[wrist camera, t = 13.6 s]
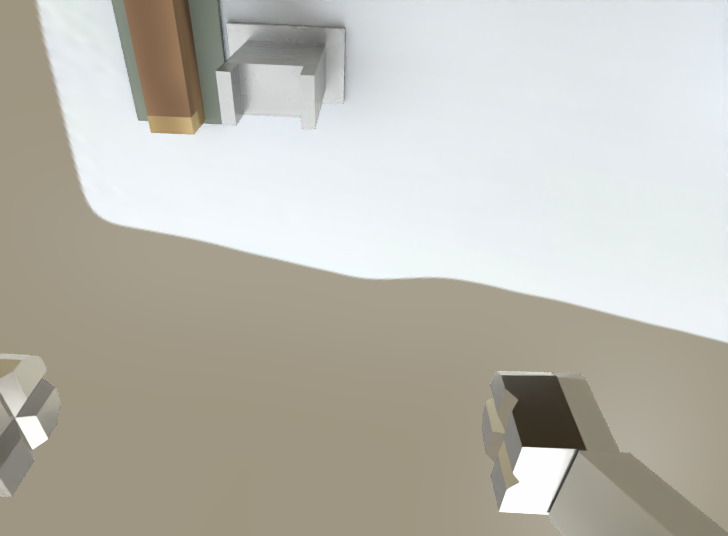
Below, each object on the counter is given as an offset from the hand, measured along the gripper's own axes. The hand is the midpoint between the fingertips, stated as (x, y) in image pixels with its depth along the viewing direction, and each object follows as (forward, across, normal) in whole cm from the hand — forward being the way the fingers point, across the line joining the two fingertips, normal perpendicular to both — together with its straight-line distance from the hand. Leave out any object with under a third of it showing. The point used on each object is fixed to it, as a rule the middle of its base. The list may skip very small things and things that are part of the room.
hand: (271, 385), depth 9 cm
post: (+31, +4, +2) cm, 31 cm away
